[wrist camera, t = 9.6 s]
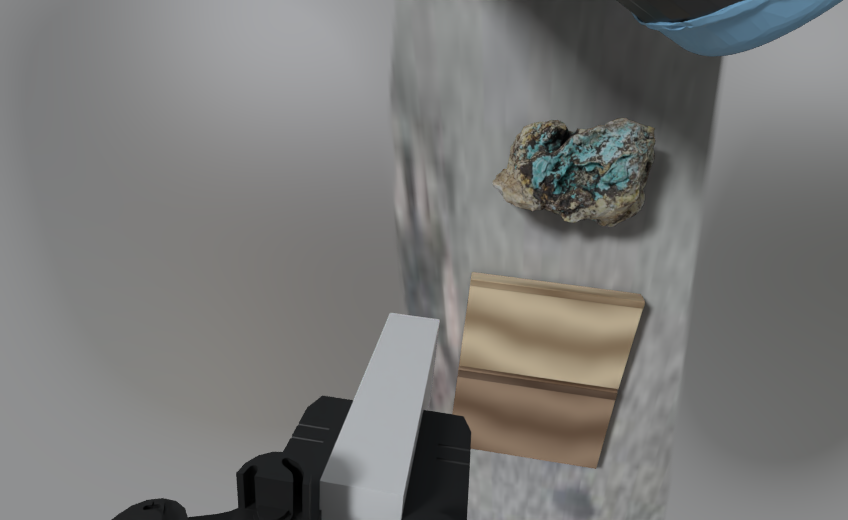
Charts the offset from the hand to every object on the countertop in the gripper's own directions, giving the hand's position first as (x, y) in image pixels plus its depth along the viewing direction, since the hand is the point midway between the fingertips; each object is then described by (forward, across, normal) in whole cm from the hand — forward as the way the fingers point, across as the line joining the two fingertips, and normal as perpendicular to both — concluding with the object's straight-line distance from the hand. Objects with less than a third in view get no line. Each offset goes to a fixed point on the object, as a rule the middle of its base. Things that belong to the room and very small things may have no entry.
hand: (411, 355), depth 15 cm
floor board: (+32, +10, -25) cm, 42 cm away
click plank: (+32, +10, -15) cm, 37 cm away
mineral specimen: (+33, +9, +1) cm, 34 cm away
